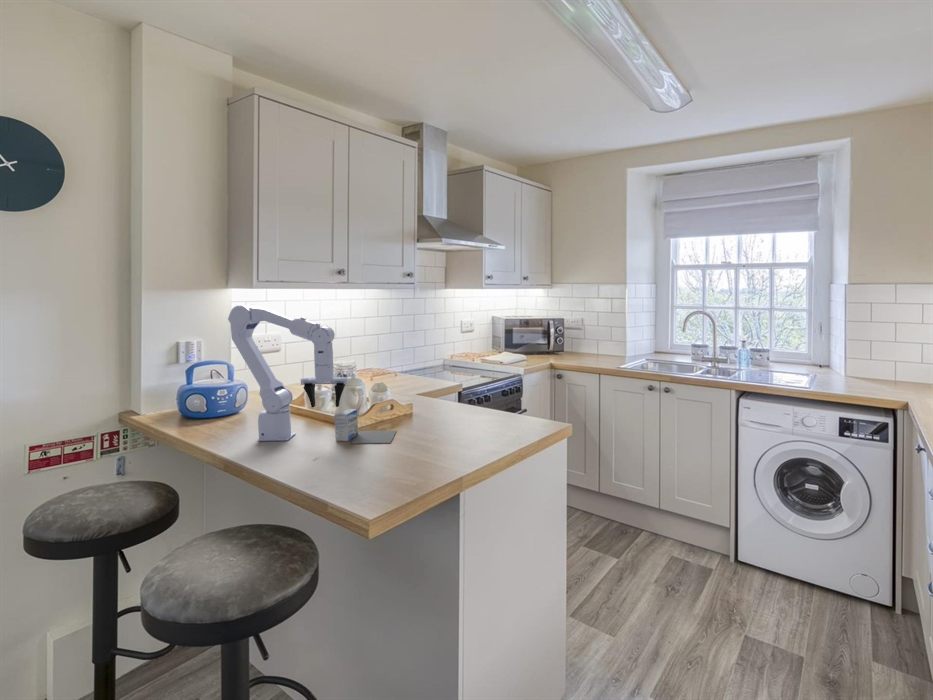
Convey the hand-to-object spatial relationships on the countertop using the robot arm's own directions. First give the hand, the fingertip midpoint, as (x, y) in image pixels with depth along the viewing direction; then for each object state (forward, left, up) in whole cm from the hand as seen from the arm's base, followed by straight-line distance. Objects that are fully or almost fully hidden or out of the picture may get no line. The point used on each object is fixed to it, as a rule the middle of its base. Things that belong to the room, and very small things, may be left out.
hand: (325, 406), depth 164 cm
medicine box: (+7, 0, -11) cm, 12 cm away
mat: (+16, 0, -10) cm, 19 cm away
